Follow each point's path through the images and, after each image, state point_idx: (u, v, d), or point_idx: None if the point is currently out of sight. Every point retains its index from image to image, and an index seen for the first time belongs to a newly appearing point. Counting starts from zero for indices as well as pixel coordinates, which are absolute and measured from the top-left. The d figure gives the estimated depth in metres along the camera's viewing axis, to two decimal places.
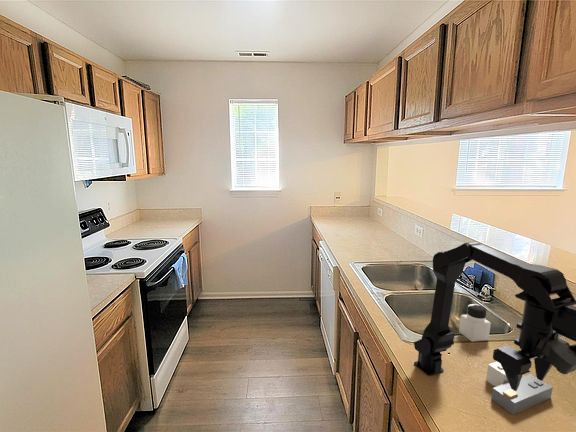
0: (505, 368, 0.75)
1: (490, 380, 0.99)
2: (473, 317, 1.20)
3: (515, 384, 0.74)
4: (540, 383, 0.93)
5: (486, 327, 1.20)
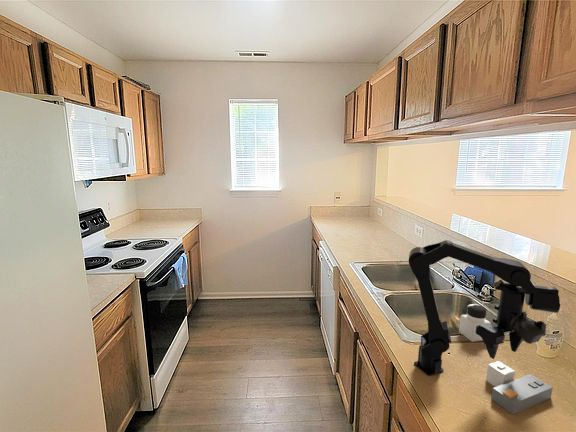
0: (485, 341, 0.95)
1: (490, 380, 0.99)
2: (473, 317, 1.20)
3: (493, 353, 0.94)
4: (540, 383, 0.93)
5: None
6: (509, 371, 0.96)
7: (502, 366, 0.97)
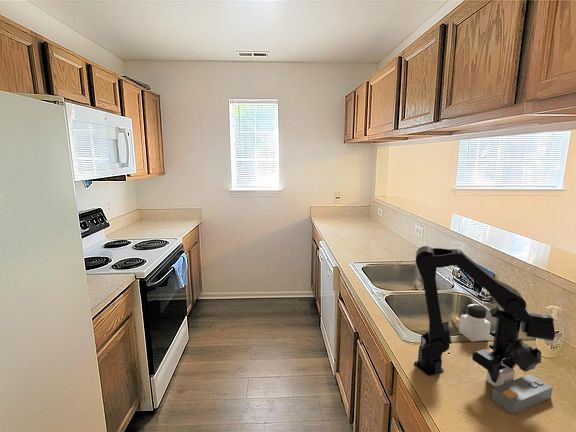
0: None
1: (490, 380, 0.99)
2: (473, 317, 1.20)
3: (494, 377, 0.96)
4: (540, 383, 0.93)
5: (486, 327, 1.20)
6: (509, 371, 0.96)
7: None
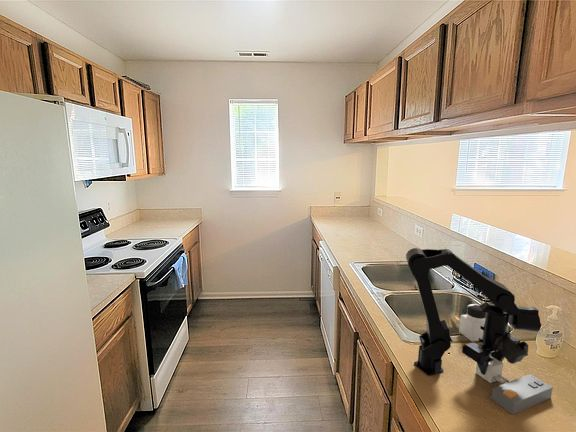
0: None
1: (479, 372, 1.02)
2: (473, 317, 1.20)
3: (483, 369, 0.99)
4: (540, 383, 0.93)
5: None
6: (498, 363, 0.99)
7: None
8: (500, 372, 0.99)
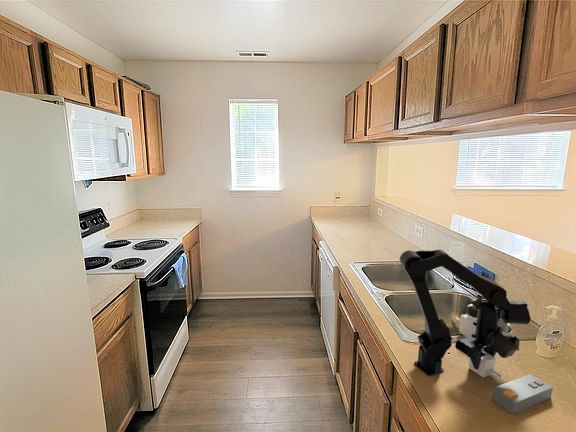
0: None
1: (472, 367, 1.04)
2: (473, 317, 1.20)
3: (476, 364, 1.02)
4: (540, 383, 0.93)
5: None
6: (490, 358, 1.01)
7: None
8: (492, 367, 1.02)
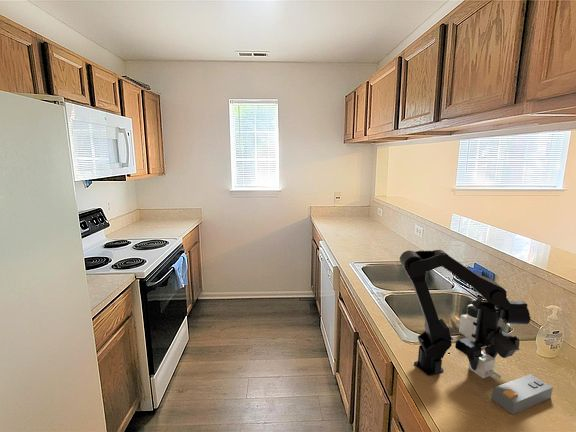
0: None
1: None
2: (473, 317, 1.20)
3: (474, 365, 1.01)
4: (540, 383, 0.93)
5: None
6: (490, 359, 1.01)
7: None
8: (492, 367, 1.02)
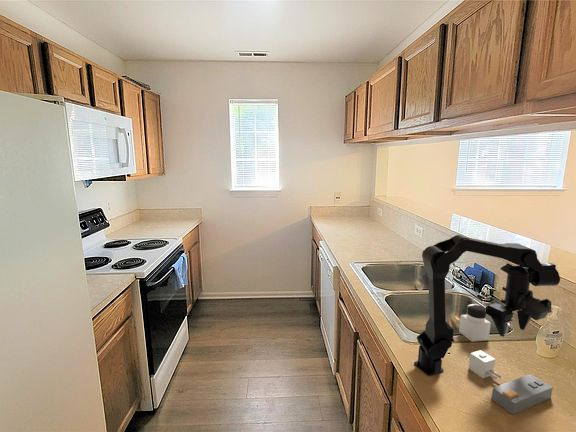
0: (494, 320, 1.01)
1: (472, 368, 1.04)
2: (473, 317, 1.20)
3: (502, 331, 1.00)
4: (540, 383, 0.93)
5: (486, 327, 1.20)
6: (490, 359, 1.01)
7: (483, 355, 1.03)
8: (492, 367, 1.02)
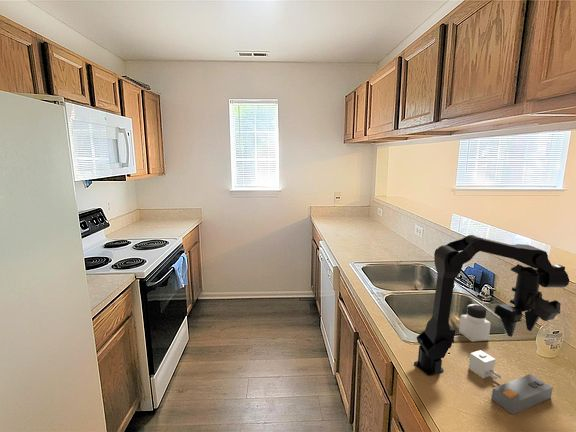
0: (503, 320, 1.02)
1: (472, 368, 1.04)
2: (473, 317, 1.20)
3: (510, 331, 1.01)
4: (540, 383, 0.93)
5: (485, 327, 1.20)
6: (490, 359, 1.01)
7: (483, 355, 1.03)
8: (492, 367, 1.02)
